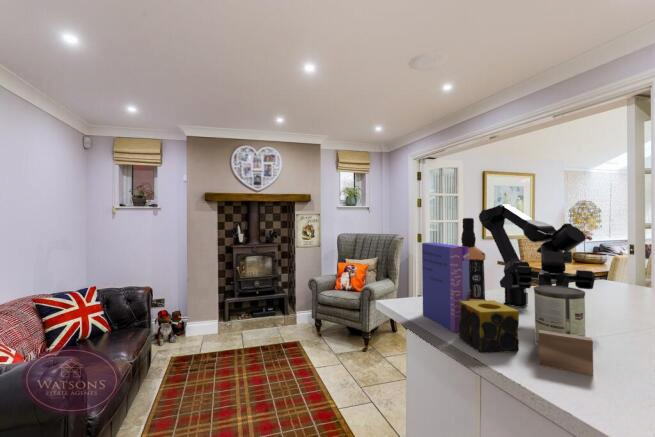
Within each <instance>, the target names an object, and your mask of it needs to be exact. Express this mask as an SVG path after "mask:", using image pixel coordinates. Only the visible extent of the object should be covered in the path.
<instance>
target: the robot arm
mask: <svg viewBox="0 0 655 437" xmlns="http://www.w3.org/2000/svg"><path fill="white" fill-rule="evenodd" d="M478 219H479V222H480V223H481V226H483V227H484V229H486V230H487V231H489V232H490V234H491V236H492V238H493V240H494V243H495V245H496V247H497V249H498V251H499V254H500V256H501V258H502V261H503V263H504V267H503V274H504V275H503V276H502V277H501V279H500V280H499V285H500V288H503V289H504V302H503V303H502V304H503V305H506V306H509V307H518V308H525V307H526V306H527V305H528V304H529V293H528V292H527V289H531V287H532V283H533V281H534V280H537V281H538V286H542V285H551V286H553V284H552V281H555V286H564V287H569V286H570V282H574V283H575V287H576V288H577V289H580V290H584V289H585V290H592V289H594V286H595V279H596V276H595V273H594V272H593V271H592V270H586V269H576V270H575V273H565V272H566V264H569V265H570V264H572V262H573V253H572V252H573V251H572V250H573V249H575V248H577V246H580V244H582V243H583V242H585V241H586V239H587V237H586V234H585V233H584V231H582V230H581V229H580V228H578V227H576V226H574V225H573V224H572V223H571V222H570V223H563V225H561V227H560V228H558V229H556V228H555V226H554V225H552V224H549V223H547V222H543V221H539V220H535V219H533V218H531V217H530V216H528V215H527V214H525V213H523V212H522V211H520V210H519V209H517V208H516V207H514V206H513V205H512V204H508V203H507V204H498V205H496V206H494V207H491V208H487V209H483V210H481V211H480V212H479V215H478ZM505 219H507V220H508V221H509V222H511V223H512V224H514V225H515V226H516V227H518V228H519V229H521V230H522V231H523V235H524V236H525V237H526V238H527V239H528V240H529V241H530V242H532V243H542V244H541V245H540V247H539V248H538V249H537V250H536V252H537V253H538V254H539V253H540V259H541V260H540V261H541V264H540V265H541V266H540V268H541V270H540V269H539V270H538V271H533V269H532V266H530V263H529V262H528V261H523V260H521V259H520V258H519V257H518V254H517V252H516V250H515V248H514V246H513V244H512V242H511V240H510V237H509V236H508V234H507V233H508V232H506V229H505V228H504V227H505V222H506V221H505Z"/></svg>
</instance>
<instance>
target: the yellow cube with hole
mask: <svg viewBox="0 0 655 437" xmlns="http://www.w3.org/2000/svg"><path fill="white" fill-rule="evenodd" d="M459 305H460V313H461V318H460V323H459V333H458V338H459V339H460V340H462V341H463V342H465V343H466V344H467V345H469V347H471V348H472V349H474V350H475V351H476V352H478V353H480V354H489V353H490V354H492V353H509V352H515V353H516V352H519V351H520V349H519V344H520V341H519V340H520V339H519V325H520V324H519V323H520V322H519V321H520V314H519V310H517V309H515V308H513V307H512V306H509V305H504V304H503V303H500V302H499V301H496V300H491V299H490V300H486V301H460V303H459Z"/></svg>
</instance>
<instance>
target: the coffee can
mask: <svg viewBox="0 0 655 437" xmlns="http://www.w3.org/2000/svg"><path fill="white" fill-rule="evenodd" d="M533 291H534V295H533V296H534V325H535V327H534V333H535V334H534V335H535V339H534V343H535V344H536V345H537V346H538V337H539V330H543V331H550V332H556V333H563V334H570V335H577V336H584V337H586V303H585V297H586V291H585V290H583V289H581V288H577V287H576V288H575V287H564V286H556V285H552V286H551V285H542V286H539V285H536V286H534V287H533Z"/></svg>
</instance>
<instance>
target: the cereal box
mask: <svg viewBox="0 0 655 437" xmlns="http://www.w3.org/2000/svg"><path fill="white" fill-rule="evenodd" d="M421 256H422V257H421V259H422V260H421V262H422V264H421V266H422V267H421V269H422V270H421V272H422V273H421V274H422V277H421V278H422V280H421V281H422V315H423V316H424V318H427V319H429V320H431V321H432V322H434V323H436V324H438V325H439V326H441V327H443V328H444V329H446V330H448V331H450V332H451V333H453V334H459V323H460V318H461V313H460V305H459V303H460V301H470V294H469V247H464V246H462V245H455V244H454V245H453V244H447V243H438V242H423V243H421Z"/></svg>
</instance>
